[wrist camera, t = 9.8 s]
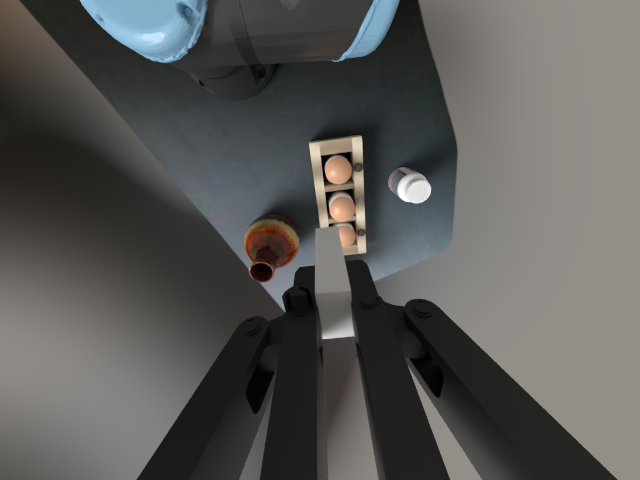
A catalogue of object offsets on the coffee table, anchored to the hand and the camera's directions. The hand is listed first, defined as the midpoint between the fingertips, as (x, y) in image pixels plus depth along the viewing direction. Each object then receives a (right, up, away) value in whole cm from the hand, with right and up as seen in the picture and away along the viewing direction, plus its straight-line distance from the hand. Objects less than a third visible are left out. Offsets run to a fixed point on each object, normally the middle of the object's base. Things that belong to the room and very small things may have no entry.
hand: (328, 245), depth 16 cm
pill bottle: (+16, +12, +31) cm, 37 cm away
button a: (+3, +14, +28) cm, 32 cm away
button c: (+4, +3, +34) cm, 35 cm away
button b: (+3, +8, +30) cm, 31 cm away
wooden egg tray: (+3, +9, +32) cm, 33 cm away
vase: (-10, +2, +35) cm, 37 cm away
